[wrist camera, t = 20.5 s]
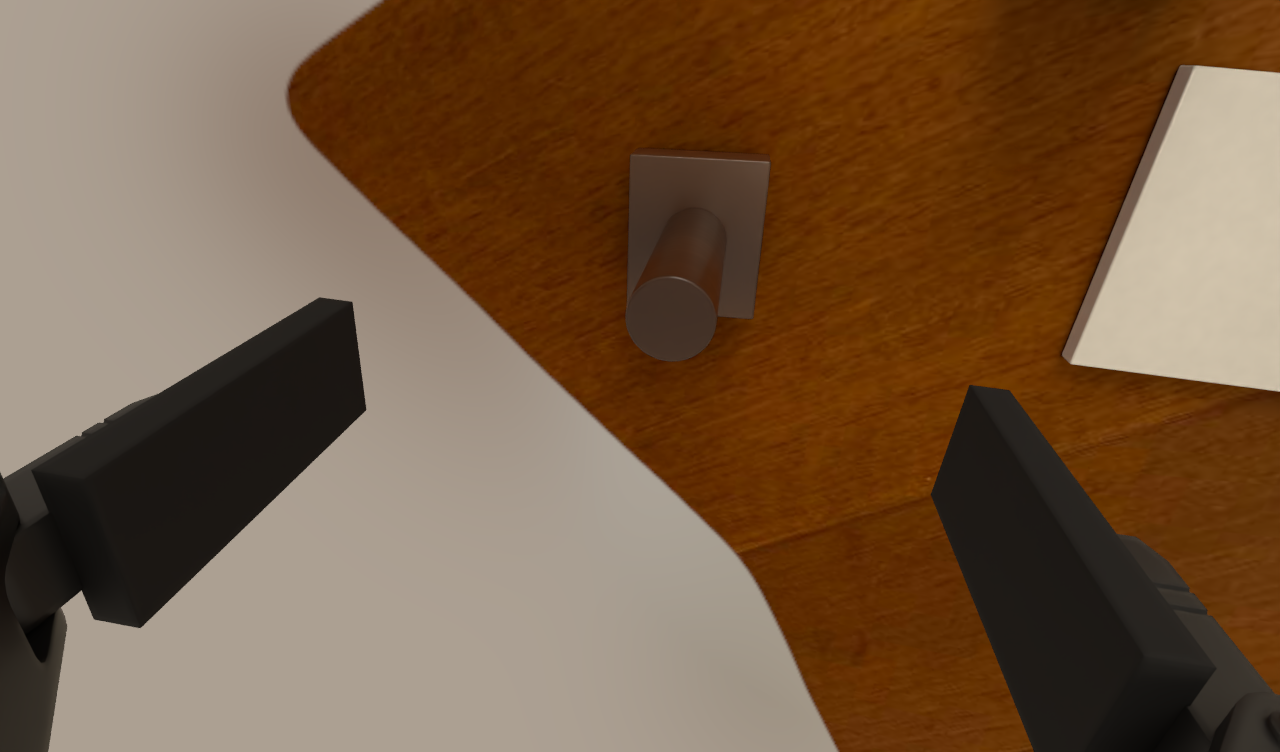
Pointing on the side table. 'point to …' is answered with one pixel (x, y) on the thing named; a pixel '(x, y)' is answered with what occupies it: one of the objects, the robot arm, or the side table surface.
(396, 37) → the side table surface
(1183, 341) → the tile
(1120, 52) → the side table surface
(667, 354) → the stamp
